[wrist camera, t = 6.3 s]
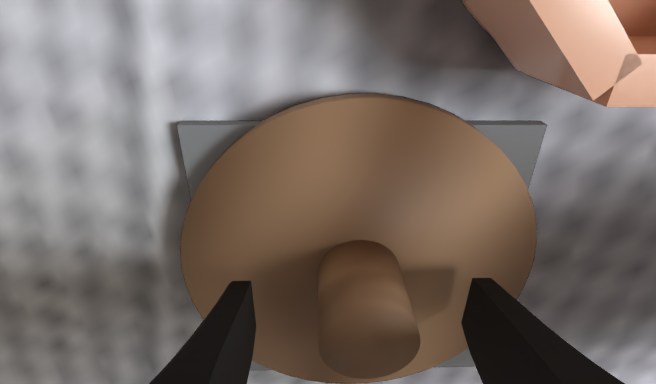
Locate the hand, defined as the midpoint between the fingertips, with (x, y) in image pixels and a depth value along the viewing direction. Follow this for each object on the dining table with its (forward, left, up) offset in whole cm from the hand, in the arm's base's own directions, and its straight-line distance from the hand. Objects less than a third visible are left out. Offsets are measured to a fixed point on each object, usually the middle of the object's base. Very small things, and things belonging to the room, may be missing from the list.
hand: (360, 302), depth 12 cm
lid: (0, 0, -2) cm, 2 cm away
